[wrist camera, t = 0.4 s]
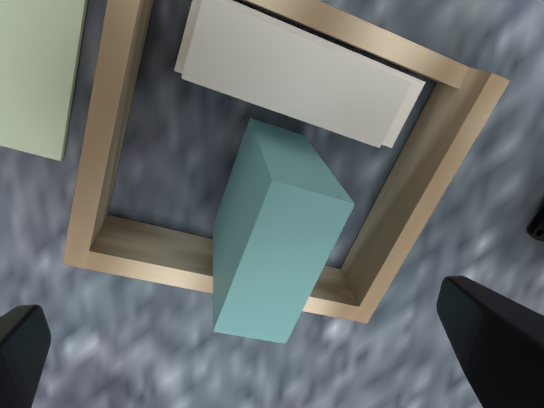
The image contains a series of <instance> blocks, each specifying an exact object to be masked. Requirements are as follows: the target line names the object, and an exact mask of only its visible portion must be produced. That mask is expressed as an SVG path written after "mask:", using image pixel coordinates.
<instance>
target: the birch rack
mask: <svg viewBox="0 0 544 408" xmlns="http://www.w3.org/2000/svg"><path fill="white" fill-rule="evenodd" d="M241 1H244V2H246V3H248V4H251V5H253V6H256V7H258V8H260V9H263V10H265V11H268V12H270V13H272V14H275V15H277V16H280V17H282V18H284V19H287V20H289V21H292V22H294V23H296V24H299V25H301V26H304V27H306V28H308V29H311V30H313V31H316V32H318V33H320V34H323V35H325V36H328V37H330V38H332V39H335V40H337V41H340V42H342V43H344V44H347V45H349V46H352V47H354V48H356V49H359V50H361V51H364V52H366V53H368V54H371V55H373V56H376V57H378V58H380V59H383V60H385V61H388V62H390V63H392V64H395V65H397V66H400V67H402V68H404V69H407V70H409V71H412V72H414V73H416V74H419V75H421V76H424V77H426V78H428V79H431V80H433V81H436V82H437V83H436V85H435V87H434V89H433V91H432V93H431V95H430V97H429V99H428V101H427V102H426V104H425V106H424V108H423V110H422V112H421V114H420V116H419V118H418V120H417V122H416V124H415V126H414V128H413V130H412V131H411V133H410V135H409V137H408V139H407V141H406V143H405V145H404V147H403V149H402V151H401V153H400V155H399V157H398V159H397V160H396V162H395V164H394V166H393V168H392V170H391V172H390V174H389V176H388V178H387V180H386V182H385V184H384V186H383V188H382V189H381V191H380V193H379V195H378V197H377V199H376V201H375V203H374V205H373V207H372V209H371V211H370V213H369V215H368V217H367V218H366V220H365V222H364V224H363V226H362V228H361V230H360V232H359V234H358V236H357V238H356V240H355V242H354V244H353V246H352V247H351V249H350V251H349V253H348V255H347V257H346V259H345V261H344V263H343V265H342V267H341V269H338V268H334V267H330V266H326V265H325V266H324V268H323V270H322V272H321V274H320V276H319V278H318V280H317V282H316V284H315V286H314V288H313V290H312V292H311V294H310V296H309V298H308V300H307V302H306V304H305V306H304V308H303V310H302V311H305V312H310V313H316V314H321V315H326V316H331V317H336V318H341V319H346V320H352V321H357V322H362V323H368V321H369V319H370V318H371V316H372V314H373V312H374V311H375V309H376V307H377V306H378V304H379V302H380V301H381V299H382V297H383V295H384V294H385V292H386V290H387V289H388V287H389V285H390V284H391V282H392V280H393V279H394V277H395V275H396V273H397V272H398V270H399V268H400V267H401V265H402V263H403V262H404V260H405V258H406V257H407V255H408V253H409V251H410V250H411V248H412V246H413V245H414V243H415V241H416V240H417V238H418V236H419V234H420V233H421V231H422V229H423V228H424V226H425V224H426V223H427V221H428V219H429V218H430V216H431V214H432V212H433V211H434V209H435V207H436V206H437V204H438V202H439V201H440V199H441V197H442V196H443V194H444V192H445V190H446V189H447V187H448V185H449V184H450V182H451V180H452V179H453V177H454V175H455V173H456V172H457V170H458V168H459V167H460V165H461V163H462V162H463V160H464V158H465V157H466V155H467V153H468V151H469V150H470V148H471V146H472V145H473V143H474V141H475V140H476V138H477V136H478V135H479V133H480V131H481V129H482V128H483V126H484V124H485V123H486V121H487V119H488V118H489V116H490V114H491V112H492V111H493V109H494V107H495V106H496V104H497V102H498V101H499V99H500V97H501V96H502V94H503V92H504V90H505V89H506V87H507V85H508V84H509V82H510V80H508V79H505V78H503V77H501V76H499V75H497V74H494V73H492V72H487V71H483V70H478V69H474V68H470V67H468V66H466V65H463V64H461V63H459V62H457V61H454V60H452V59H450V58H448V57H445V56H443V55H441V54H439V53H436V52H434V51H432V50H429V49H427V48H425V47H423V46H420V45H418V44H416V43H414V42H411V41H409V40H407V39H405V38H402V37H400V36H398V35H396V34H393V33H391V32H389V31H387V30H384V29H382V28H380V27H377V26H375V25H373V24H371V23H368V22H366V21H364V20H362V19H359V18H357V17H355V16H353V15H350V14H348V13H346V12H344V11H341V10H339V9H337V8H335V7H332V6H330V5H328V4H326V3H323V2H321V1H319V0H241ZM153 2H154V0H108V1H107V6H106V12H105V18H104V24H103V30H102V35H101V41H100V47H99V53H98V59H97V64H96V70H95V76H94V82H93V88H92V94H91V99H90V105H89V111H88V117H87V123H86V128H85V134H84V140H83V146H82V152H81V157H80V163H79V169H78V175H77V181H76V186H75V192H74V198H73V204H72V210H71V215H70V221H69V227H68V233H67V239H66V244H65V250H64V256H63V262H62V264H64V265H69V266H74V267H79V268H84V269H89V270H94V271H100V272H105V273H110V274H115V275H120V276H125V277H130V278H136V279H141V280H146V281H151V282H156V283H161V284H166V285H172V286H177V287H182V288H187V289H192V290H197V291H202V292H208V293H213V239H210V238H206V237H202V236H197V235H193V234H189V233H185V232H180V231H176V230H172V229H168V228H163V227H159V226H155V225H150V224H146V223H142V222H138V221H133V220H129V219H125V218H121V217H116V216H112V215H108V211H109V206H110V202H111V197H112V192H113V188H114V183H115V178H116V174H117V169H118V165H119V160H120V155H121V151H122V146H123V141H124V137H125V132H126V127H127V123H128V118H129V113H130V109H131V104H132V99H133V95H134V90H135V86H136V81H137V76H138V72H139V67H140V62H141V58H142V53H143V48H144V44H145V39H146V34H147V30H148V25H149V21H150V16H151V11H152V7H153Z"/></svg>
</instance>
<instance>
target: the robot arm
mask: <svg viewBox="0 0 544 408" xmlns="http://www.w3.org/2000/svg"><path fill="white" fill-rule="evenodd" d="M528 234H529V235H530V236H531V237H533V238H534V239H536V240H540V241H543V242H544V208H543V210H542V211H541V212H540V214H539V215H538V217H537V218H536V219H535V221H534V222H533V224H532V225H531V226H530V228H529V230H528ZM437 312H438V315H439V318H440V320H441V322H442V324H443V327H444V329H445V331H446V334H447V336H448V338H449V340H450V343H451V345H452V347H453V350H454V352H455V354H456V356H457V359H458V361H459V363H460V365H461V368H462V370H463V372H464V374H465V376H466V378H467V379H468V381H469V383H470V385H471V387H472V389H473V390H474V392H475V394H476V396H477V397H478V399H479V401H480V403H481V405H482V406H483V408H544V316H543V315H541V314H539V313H537V312H535V311H533V310H531V309H529V308H527V307H525V306H523V305H521V304H519V303H517V302H515V301H513V300H511V299H509V298H507V297H505V296H503V295H501V294H499V293H497V292H495V291H493V290H491V289H489V288H487V287H485V286H483V285H481V284H479V283H477V282H475V281H473V280H471V279H469V278H467V277H464V276H448V277H445V278H444V279H443V281H442V285H441V289H440V292H439V296H438V300H437ZM50 343H51V333H50V330H49V327H48V324H47V321H46V318H45V315H44V312H43V309H42V308H41V306H39V305H36V304H35V305H21V306H17V307H15V308H14V309H12V310H11V311H9V312H8V313H6V314H4V315H3V316H1V317H0V408H31V407H32V404H33V401H34V397H35V394H36V391H37V387H38V384H39V381H40V377H41V374H42V370H43V367H44V364H45V360H46V357H47V354H48V350H49V347H50Z"/></svg>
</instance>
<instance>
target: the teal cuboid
mask: <svg viewBox="0 0 544 408" xmlns="http://www.w3.org/2000/svg"><path fill="white" fill-rule="evenodd" d="M354 205H355V203H354V202H353V201H352V199H351V198H350V197H349V195H348V194H347V193H346V191H345V190H344V189H343V187H342V186H341V184H340V183H339V182H338V180H337V179H336V178H335V176H334V175H333V174H332V172H331V171H330V170H329V168H328V167H327V166H326V164H325V163H324V162H323V160H322V159H321V157H320V156H319V155H318V153H317V152H316V151H315V149H314V148H313V147H312V145H311V144H310V143H309V141H308V140H307V139H306V137H305V136H304V135H301V134H298V133H295V132H292V131H289V130H286V129H283V128H280V127H277V126H274V125H271V124H268V123H265V122H262V121H259V120H256V119H253V118H250V119H249V121H248V124H247V127H246V130H245V133H244V136H243V139H242V142H241V145H240V148H239V151H238V154H237V157H236V160H235V162H234V165H233V168H232V171H231V174H230V177H229V180H228V183H227V186H226V189H225V192H224V195H223V198H222V201H221V203H220V206H219V209H218V212H217V215H216V218H215V221H214V224H213V332H218V333H224V334H230V335H236V336H242V337H248V338H254V339H260V340H266V341H272V342H278V343H284V344H286V342H287V340H288V338H289V336H290V334H291V332H292V330H293V328H294V326H295V324H296V322H297V320H298V318H299V316H300V314H301V312H302V310H303V308H304V306H305V304H306V302H307V300H308V298H309V296H310V294H311V292H312V290H313V288H314V286H315V284H316V282H317V280H318V278H319V276H320V274H321V272H322V270H323V268H324V266H325V264H326V262H327V260H328V258H329V256H330V254H331V252H332V250H333V248H334V246H335V244H336V242H337V240H338V238H339V236H340V234H341V231H342V229H343V227H344V225H345V223H346V221H347V219H348V217H349V215H350V213H351V211H352V209H353V207H354Z"/></svg>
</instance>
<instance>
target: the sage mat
mask: <svg viewBox="0 0 544 408" xmlns="http://www.w3.org/2000/svg"><path fill="white" fill-rule="evenodd" d="M87 3H88V0H0V146H4V147H8V148H12V149H16V150H20V151H23V152H27V153H31V154H35V155H39V156H43V157H46V158H50V159H54V160H58V161H61V160H62V159H63V158H64V152H65V146H66V139H67V133H68V126H69V120H70V113H71V107H72V100H73V94H74V87H75V81H76V74H77V68H78V61H79V55H80V48H81V42H82V35H83V29H84V22H85V16H86V9H87Z"/></svg>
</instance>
